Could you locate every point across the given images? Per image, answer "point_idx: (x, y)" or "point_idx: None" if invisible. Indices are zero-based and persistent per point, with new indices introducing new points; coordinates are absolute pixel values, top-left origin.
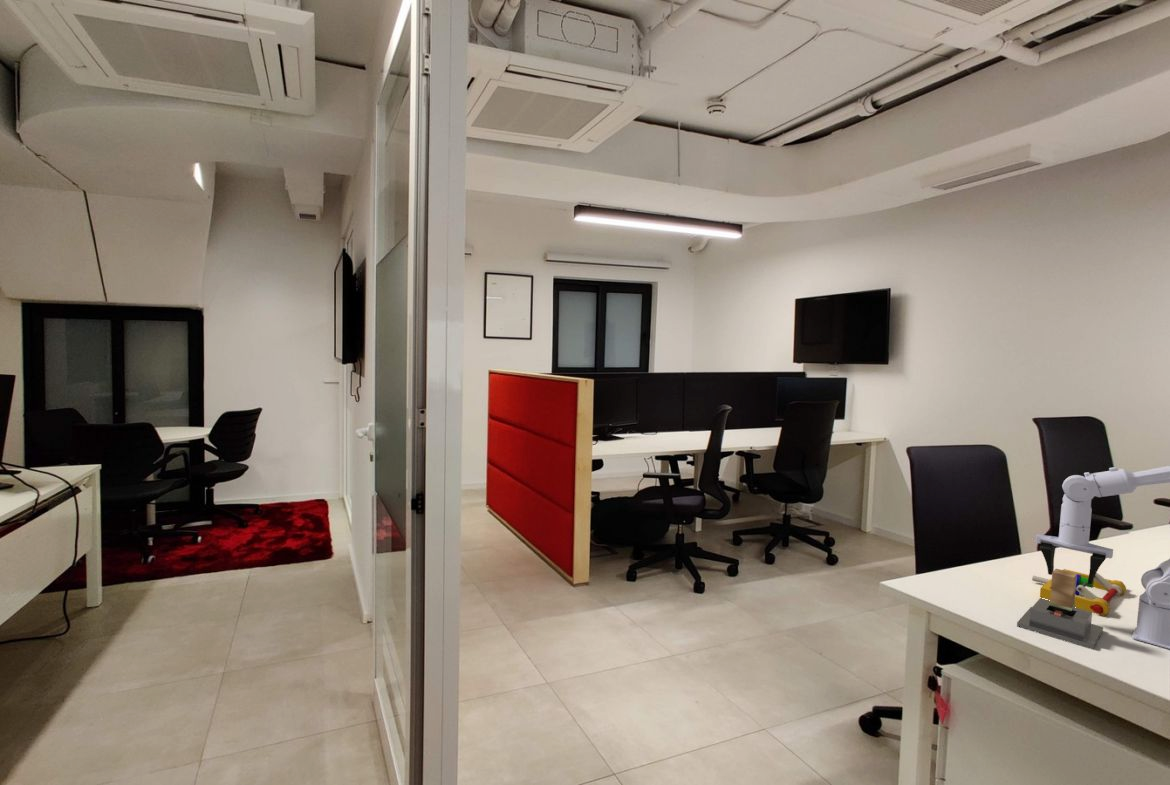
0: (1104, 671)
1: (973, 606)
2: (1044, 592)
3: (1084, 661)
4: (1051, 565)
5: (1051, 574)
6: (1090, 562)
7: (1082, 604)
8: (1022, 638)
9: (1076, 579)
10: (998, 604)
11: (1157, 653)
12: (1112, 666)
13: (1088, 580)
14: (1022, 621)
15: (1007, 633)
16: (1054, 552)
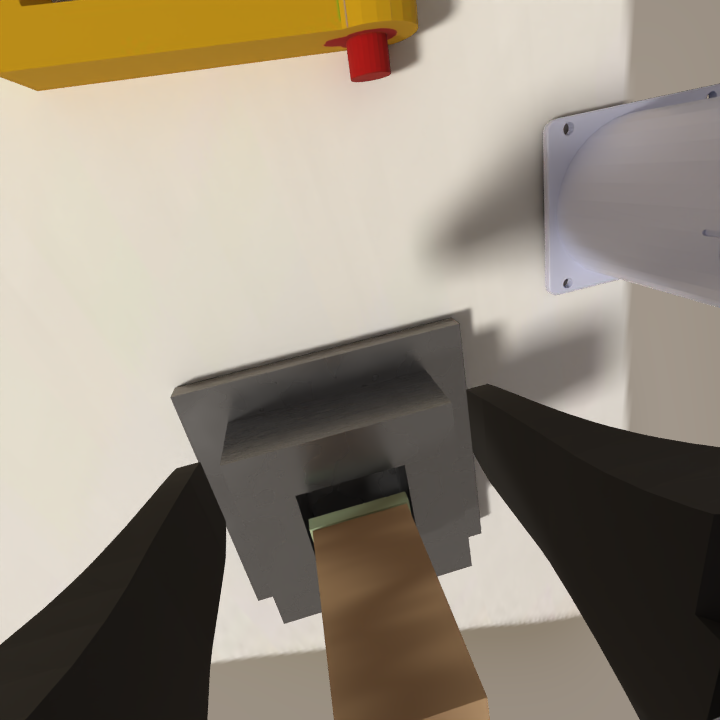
0: (524, 613)
1: (47, 580)
2: (40, 78)
3: (479, 609)
4: (212, 612)
5: (225, 526)
6: (625, 687)
7: (283, 48)
8: (321, 640)
9: (465, 648)
10: (58, 459)
11: (619, 349)
12: (533, 571)
13: (489, 475)
14: (262, 578)
15: (278, 651)
16: (106, 648)
